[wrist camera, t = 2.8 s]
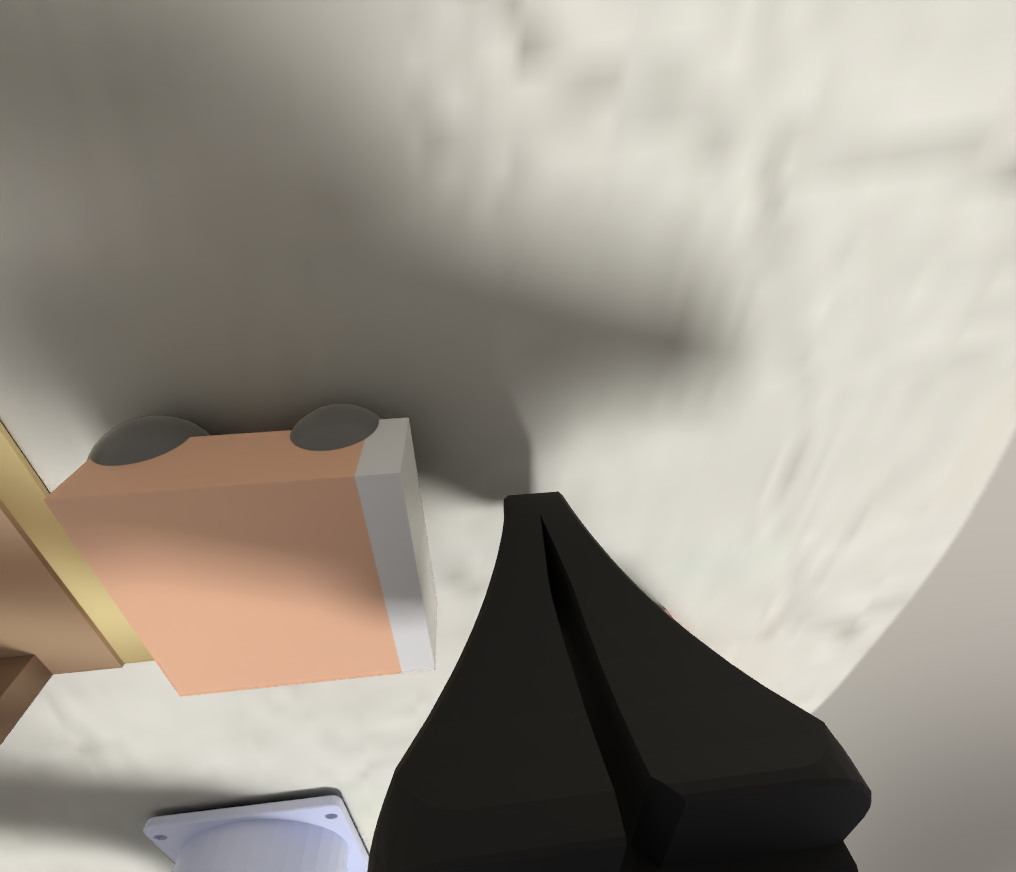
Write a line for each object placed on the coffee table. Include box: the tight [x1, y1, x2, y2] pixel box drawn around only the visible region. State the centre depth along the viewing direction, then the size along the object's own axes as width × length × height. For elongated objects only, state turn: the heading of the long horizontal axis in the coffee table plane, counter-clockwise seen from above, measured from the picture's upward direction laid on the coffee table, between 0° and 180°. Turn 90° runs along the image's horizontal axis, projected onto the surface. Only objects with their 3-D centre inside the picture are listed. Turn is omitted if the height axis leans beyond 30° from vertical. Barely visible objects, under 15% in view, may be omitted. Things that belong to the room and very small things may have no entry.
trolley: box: [44, 403, 437, 696], centre depth 11 cm, size 7×6×3 cm
